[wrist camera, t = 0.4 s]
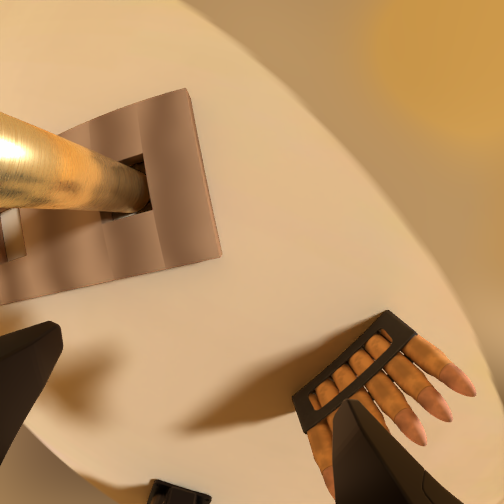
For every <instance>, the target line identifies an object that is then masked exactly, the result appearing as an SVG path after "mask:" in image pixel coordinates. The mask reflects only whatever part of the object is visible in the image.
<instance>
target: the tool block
mask: <svg viewBox="0 0 504 504" xmlns="http://www.w3.org/2000/svg"><path fill="white" fill-rule="evenodd" d="M57 136H60V137H62V138H65V139H67V140H69V141H72V142H74V143H76V144H79V145H81V146H83V147H85V148H88V149H90V150H92V151H95V152H97V153H99V154H102V155H104V156H106V157H108V158H111V159H113V160H115V161H117V162H120V163H122V164H124V165H126V166H130V165H133V164H136V163H139V162H143V161H144V164H145V170H146V176H147V182H148V187H149V193H150V198H151V203H152V208H153V210H150V211H147V212H143V213H139V214H136V215H132V216H129V217H125V218H122V219H118V220H115V221H113V218H112V213H111V212H106V211H86V210H62V209H33V208H19V210H20V217H21V225H22V231H23V237H24V243H25V248H26V254H27V255H26V256H23V257H20V258H17V259H14V260H12V261H9V262H8V261H7V256H6V251H5V245H4V239H3V232H2V225H1V217H0V305H3V304H7V303H12V302H16V301H21V300H26V299H30V298H35V297H39V296H44V295H49V294H53V293H58V292H62V291H67V290H72V289H76V288H81V287H85V286H90V285H95V284H99V283H104V282H109V281H113V280H118V279H122V278H127V277H132V276H136V275H141V274H146V273H150V272H155V271H159V270H164V269H169V268H173V267H178V266H183V265H187V264H192V263H197V262H201V261H206V260H210V259H215V258H220V257H221V255H222V250H221V246H220V241H219V237H218V232H217V227H216V223H215V218H214V213H213V209H212V204H211V199H210V195H209V190H208V185H207V180H206V175H205V170H204V165H203V160H202V155H201V150H200V145H199V140H198V135H197V130H196V124H195V119H194V114H193V108H192V103H191V98H190V96H189V94H188V92H187V89H186V88H183V89H180V90H176V91H172V92H169V93H165V94H162V95H159V96H155V97H152V98H149V99H146V100H143V101H140V102H137V103H134V104H131V105H128V106H125V107H123V108H120V109H117V110H115V111H112V112H109V113H107V114H104V115H102V116H99V117H97V118H94V119H92V120H90V121H87V122H85V123H83V124H80V125H78V126H76V127H74V128H71V129H69V130H67V131H65V132H63V133H61V134H59V135H57ZM7 209H9V208H0V213H1V212H3V211H5V210H7Z"/></svg>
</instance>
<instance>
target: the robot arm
mask: <svg viewBox="0 0 504 504" xmlns="http://www.w3.org/2000/svg"><path fill="white" fill-rule="evenodd" d="M62 350H63V340H62V333H61V327H60V326H59V325H58V324H56V323H54V322H52V321H46V322H43V323H40V324H37V325H34V326H31V327H28V328H25V329H22V330H18V331H15V332H12V333H9V334H6V335H3V336H0V465H1V463H2V461H3V459H4V457H5V455H6V453H7V451H8V449H9V447H10V446H11V444H12V442H13V440H14V438H15V436H16V434H17V433H18V431H19V429H20V427H21V425H22V424H23V422H24V420H25V418H26V417H27V415H28V413H29V411H30V410H31V408H32V406H33V405H34V403H35V401H36V400H37V398H38V397H39V395H40V393H41V392H42V390H43V388H44V387H45V385H46V383H47V381H48V379H49V377H50V374H51V372H52V370H53V368H54V366H55V364H56V362H57V360H58V358H59V356H60V355H61V353H62ZM332 467H333V478H334V489H335V502H336V504H464V503H462V502H461V501H460V500H458V499H457V498H456V497H455V496H453V495H452V494H451V493H450V492H449V491H447V490H446V489H445V488H444V487H443V486H442V485H441V484H439V483H438V482H437V481H436V480H435V479H434V478H433V477H432V476H431V475H430V474H429V473H428V472H427V471H426V470H424V468H423V467H422V466H421V465H420V464H419V463H418V462H417V461H416V460H415V459H414V458H413V457H412V456H411V455H410V454H409V453H408V452H407V450H406V449H405V448H404V447H403V446H402V445H401V444H400V443H399V442H398V441H397V440H396V439H395V438H394V437H393V436H392V435H391V434H390V433H389V432H388V431H387V430H386V429H385V428H384V427H383V426H382V424H381V423H380V422H379V421H378V420H377V419H376V418H375V417H374V416H373V415H372V414H371V413H370V412H369V411H368V410H367V409H366V408H365V407H364V405H363V404H362V403H361V402H360V401H359V400H356V399H345V400H344V401H343V402H342V404H341V406H340V407H339V409H338V410H337V412H336V413H335V415H334V417H333V437H332ZM211 500H212V497H211V496H209V495H205V494H201V493H197V492H194V491H190V490H187V489H184V488H180V487H177V486H174V485H171V484H168V483H165V482H162V481H159V480H155V481H154V484H153V487H152V490H151V493H150V496H149V498H148V501H147V504H210V502H211Z"/></svg>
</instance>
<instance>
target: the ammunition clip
mask: <svg viewBox="0 0 504 504" xmlns="http://www.w3.org/2000/svg"><path fill="white" fill-rule="evenodd" d="M391 343H392V344H391ZM399 351H401V352H402V353H404V355H403V354H402V353H401V352H399ZM374 360H375V361H374ZM413 362H414V363H415V364H416V365H417V366H419V367H420V368H421V369H422V370H423V371H425V372H426V373H427V374H429V375H431V376H434V377H435V378H437V379H438V380H439V381H441V382H443V383H444V384H445V385H446V386H448V387H449V388H451V389H452V390H454V391H456V392H457V393H460V394H462V395H465V396H469V397H474V396H476V390H475V387H474V385H473V383H472V382H471V380H470V379H469V378H468V377H467V375H466V374H465V373H464V372H463V371H462V370H460V369H459V368H458V367H457V366H455V364H454V363H452V362H451V361H450V360H449V359H448V358H447V357H446V355H445V354H444V353H443V352H442V351H441V350H439V349H438V348H437V347H435V346H434V345H432V344H431V343H430V342H428V341H427V340H425V339H424V338H423V337H421V336H420V335H418V334H417V333H416V332H415V331H414V330H413V329H412V328H410V327H409V326H408V325H407V324H406V323H404V322H403V321H402V320H401V319H399V318H398V317H397V316H396V315H394V314H393V313H392V312H391V311H389V310H386V311H384V313H383V314H382V315H381V316H380V317H379V318H378V319H377V320H376V321H375V322H374V323H373V324H372V325H371V326H370V327H369V328H368V329H367V330H366V331H365V332H364V333H363V334H362V335H361V336H360V337H359V338H358V339H357V340H356V341H355V342H354V343H353V344H352V345H351V346H350V347H349V348H347V349H346V350H345V351H344V352H343V353H342V354H341V355H340V356H339V357H338V358H337V359H336V360H334V361H333V362H332V363H331V364H330V365H329V366H328V367H327V368H326V369H324V370H323V371H322V372H321V373H320V374H319V375H318V376H316V377H315V378H314V379H313V380H312V381H310V382H309V383H308V384H307V385H306V386H305V387H303V388H302V389H301V390H300V391H298V392H297V393H296V394H295V395H294V396H292V400H293V403H294V406H295V409H296V412H297V415H298V418H299V421H300V424H301V427H302V429H303V432H304V433H305V434H307V435H308V439H309V442H310V445H311V449H312V452H313V456H314V459H315V461H316V463H317V465H318V466H319V468H320V471H321V473H322V475H323V478H324V481H325V484H326V486H327V488H328V490H329V492H330V494H331V495H332V497H333V498H334V499H335V489H334V478H333V467H332V437H333V435H332V434H333V417H334V415H335V413H336V412H337V410H338V409H339V407H340V406H341V404H342V402H343V401H344V400H345V399H356V400H359V401H360V402H361V403H362V404H363V405H364V407H365V408H366V409H367V410H368V411H369V412H370V413H371V414H372V415H373V416H374V417H375V418H376V419H377V420H378V421H379V422H380V423H381V424H382V426H383V427H384V428H385V429H386V430H387V431H388V432H389V433H390V431H389V429H388V427H387V426H386V424H385V420H384V417H383V415H382V413H381V412H380V410H379V409H378V407H377V406H376V404H375V403H374V400H375V401H376V403H377V404H378V406H379V407H380V408H381V410H382V411H383V412H384V413H385V414H386V415H387V416H389V417H390V418H391V419H392V421H393V422H394V423H395V424H396V425H397V426H398V428H399V429H400V430H401V431H402V432H403V433H404V434H405V435H406V436H407V437H408V438H409V439H410V440H411V441H413V442H415V443H416V444H418V445H421V446H426V445H427V437H426V433H425V430H424V428H423V426H422V424H421V422H420V420H419V419H418V417H417V416H416V414H415V413H414V412H413V410H412V409H411V407H410V406H409V405H408V403H407V401H406V399H405V397H404V395H403V393H402V392H401V391H400V390H399V389H398V387H397V386H396V385H395V384H394V383H393V382H395V383H396V384H397V385H398V386H399V387H400V388H401V389H402V390H403V391H404V392H405V393H406V394H408V395H409V396H411V397H412V398H413V399H414V400H416V401H417V402H418V403H419V404H420V405H421V406H422V407H423V408H424V409H425V410H426V411H428V412H429V413H430V414H431V415H433V416H435V417H436V418H438V419H440V420H442V421H445V422H452V420H453V417H452V413H451V410H450V408H449V406H448V404H447V403H446V401H445V400H444V398H443V397H442V396H441V394H440V393H439V392H438V391H437V390H436V389H435V388H434V387H433V386H432V385H431V383H430V382H429V381H428V380H427V378H426V377H425V375H424V373H423V372H422V371H420V370H419V369H418V368H417V367H416V366H415V365H414V364H413ZM382 368H383V369H384V371H385V372H386V373H387V375H386V374H385V372H384V371H383V370H382ZM357 376H358V377H357ZM364 386H365V387H366V389H367V390H368V392H367V391H366V389H365V388H364ZM339 391H340V392H339ZM390 434H391V433H390Z"/></svg>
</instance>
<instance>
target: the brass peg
mask: <svg viewBox="0 0 504 504" xmlns="http://www.w3.org/2000/svg"><path fill="white" fill-rule="evenodd" d="M149 199H150V193H149V187H148V182H147V176H146V175H145V174H143V173H142V172H140V171H137V170H135V169H133V168H131V167H129V166H126V165H124V164H122V163H120V162H117V161H115V160H113V159H111V158H108V157H106V156H104V155H102V154H99V153H97V152H95V151H92V150H90V149H88V148H85V147H83V146H81V145H79V144H76V143H74V142H72V141H69V140H67V139H65V138H62V137H60V136H57V135H55V134H53V133H50V132H48V131H46V130H43V129H41V128H38V127H36V126H34V125H31V124H29V123H26V122H24V121H21V120H19V119H16V118H14V117H12V116H9V115H7V114H4V113H2V112H0V208H33V209H62V210H86V211H106V212H124V213H134V212H137V211H139V210H141V209H142V208H144V207H145V206H146V204H147V203H148V201H149Z"/></svg>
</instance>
